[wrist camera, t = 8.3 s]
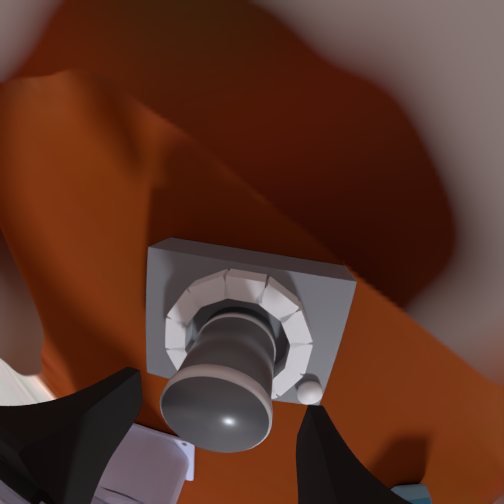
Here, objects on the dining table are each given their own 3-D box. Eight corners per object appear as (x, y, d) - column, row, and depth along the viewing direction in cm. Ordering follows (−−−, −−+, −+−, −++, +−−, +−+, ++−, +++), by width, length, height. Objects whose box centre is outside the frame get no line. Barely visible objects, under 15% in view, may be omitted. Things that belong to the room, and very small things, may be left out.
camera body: (164, 348, 22) (139, 383, 17) (170, 237, 20) (137, 251, 15) (314, 376, 21) (320, 418, 16) (344, 265, 19) (362, 289, 14)
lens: (202, 366, 18) (167, 443, 11) (200, 301, 17) (152, 366, 10) (274, 374, 17) (267, 458, 10) (279, 307, 16) (276, 382, 10)
